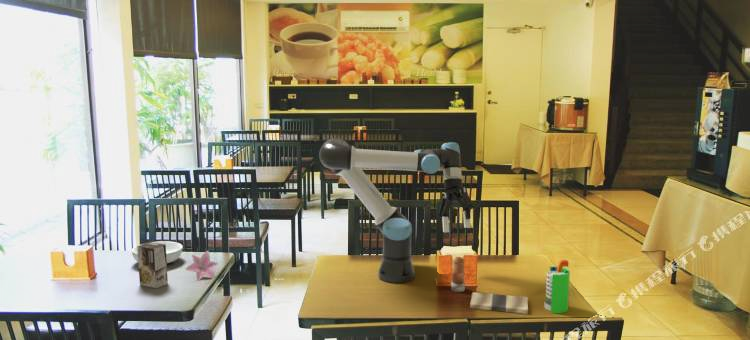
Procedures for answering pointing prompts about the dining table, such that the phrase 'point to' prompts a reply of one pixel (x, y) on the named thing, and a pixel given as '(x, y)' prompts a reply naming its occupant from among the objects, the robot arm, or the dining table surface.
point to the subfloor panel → (499, 302)
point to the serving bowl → (171, 250)
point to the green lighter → (557, 288)
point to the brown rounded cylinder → (458, 275)
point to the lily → (202, 266)
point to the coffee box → (152, 264)
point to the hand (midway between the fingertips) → (456, 230)
